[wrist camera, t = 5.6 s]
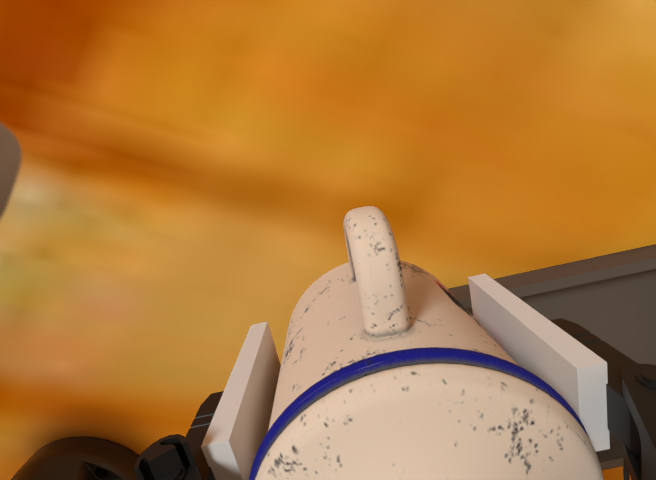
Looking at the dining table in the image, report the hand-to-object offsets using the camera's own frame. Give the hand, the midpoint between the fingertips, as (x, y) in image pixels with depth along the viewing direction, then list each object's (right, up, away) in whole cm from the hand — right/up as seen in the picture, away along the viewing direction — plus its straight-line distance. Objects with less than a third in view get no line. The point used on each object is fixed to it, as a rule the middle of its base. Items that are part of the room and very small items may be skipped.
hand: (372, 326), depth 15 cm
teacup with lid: (0, 0, +2) cm, 2 cm away
